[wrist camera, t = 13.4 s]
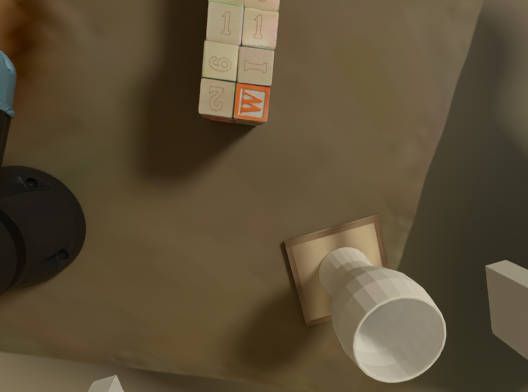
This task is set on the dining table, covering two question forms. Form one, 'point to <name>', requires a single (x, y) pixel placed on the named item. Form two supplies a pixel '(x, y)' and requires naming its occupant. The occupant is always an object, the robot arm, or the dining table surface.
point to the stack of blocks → (238, 60)
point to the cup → (381, 317)
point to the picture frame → (317, 248)
